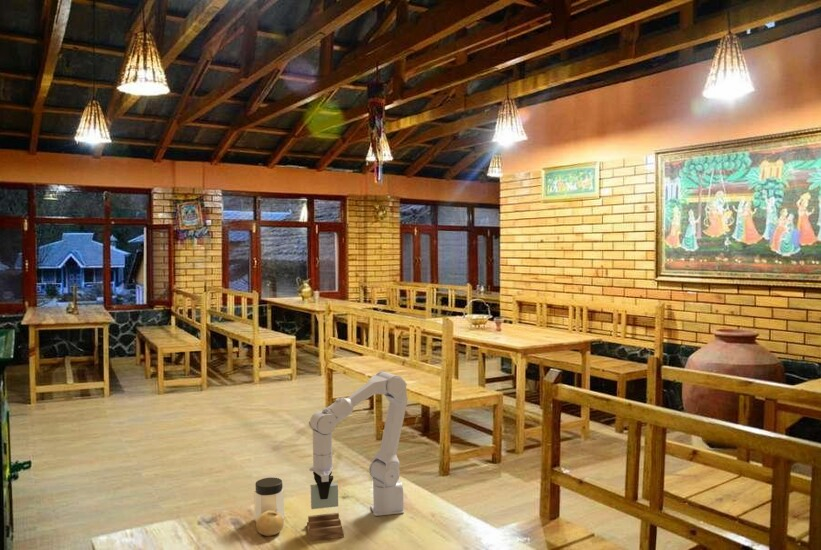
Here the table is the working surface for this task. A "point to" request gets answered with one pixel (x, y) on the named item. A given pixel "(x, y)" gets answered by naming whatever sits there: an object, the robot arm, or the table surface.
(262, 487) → the jar
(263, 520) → the onion
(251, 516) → the table surface
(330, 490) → the pale green prism
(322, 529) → the rack
